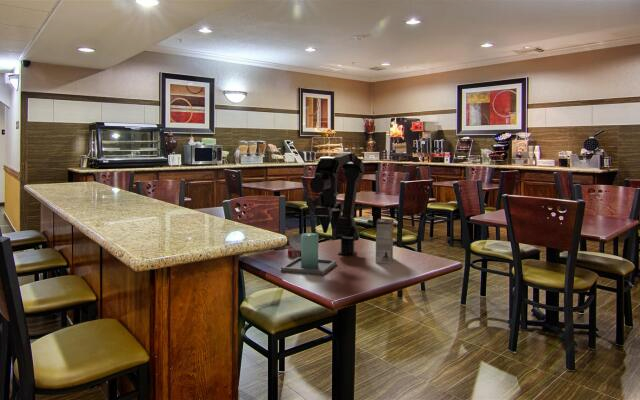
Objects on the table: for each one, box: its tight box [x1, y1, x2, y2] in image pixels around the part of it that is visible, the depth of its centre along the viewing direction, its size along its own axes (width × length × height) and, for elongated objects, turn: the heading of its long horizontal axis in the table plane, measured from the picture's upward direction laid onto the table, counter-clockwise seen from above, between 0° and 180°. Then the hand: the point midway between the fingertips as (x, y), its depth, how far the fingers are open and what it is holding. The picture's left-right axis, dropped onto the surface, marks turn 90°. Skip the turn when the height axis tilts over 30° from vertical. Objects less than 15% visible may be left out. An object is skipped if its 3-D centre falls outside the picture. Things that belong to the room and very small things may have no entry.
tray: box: [280, 257, 338, 277], centre depth 172 cm, size 16×16×2 cm
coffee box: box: [375, 218, 394, 264], centre depth 181 cm, size 9×6×16 cm
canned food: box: [287, 233, 302, 259], centre depth 191 cm, size 11×10×10 cm
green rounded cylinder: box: [301, 232, 319, 269], centre depth 171 cm, size 6×6×12 cm
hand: (329, 230), depth 176 cm, fingers open, 9 cm apart
